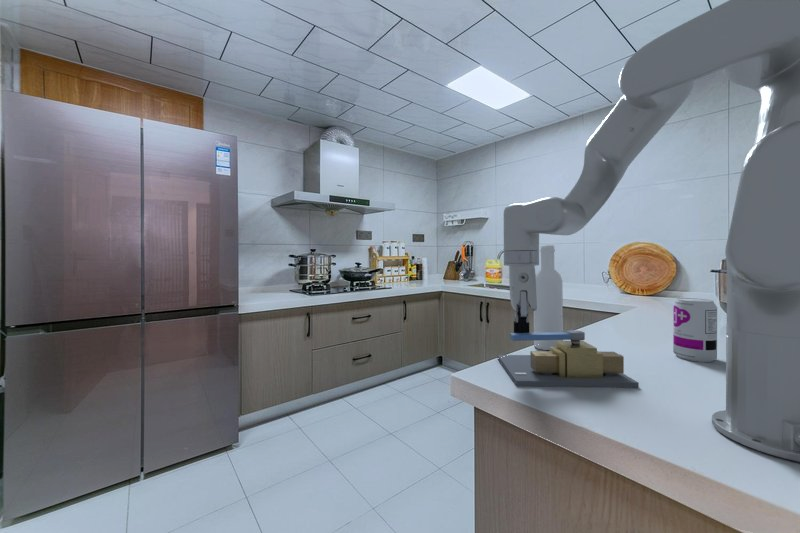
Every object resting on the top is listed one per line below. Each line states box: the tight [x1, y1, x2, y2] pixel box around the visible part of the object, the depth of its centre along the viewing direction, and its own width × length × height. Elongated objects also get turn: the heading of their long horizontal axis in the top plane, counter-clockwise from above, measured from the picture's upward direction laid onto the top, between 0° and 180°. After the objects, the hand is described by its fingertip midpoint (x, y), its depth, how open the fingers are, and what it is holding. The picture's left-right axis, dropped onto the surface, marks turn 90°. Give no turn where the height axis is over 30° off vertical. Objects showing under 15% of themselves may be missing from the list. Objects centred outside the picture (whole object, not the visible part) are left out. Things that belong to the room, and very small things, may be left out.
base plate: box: [496, 354, 640, 389], centre depth 74 cm, size 18×24×1 cm
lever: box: [509, 329, 586, 342], centre depth 70 cm, size 16×4×1 cm, turn 90°
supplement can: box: [672, 297, 718, 363], centre depth 82 cm, size 8×8×15 cm
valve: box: [529, 340, 625, 378], centre depth 70 cm, size 6×18×8 cm, turn 85°
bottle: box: [533, 244, 564, 351], centre depth 93 cm, size 8×8×30 cm
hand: (521, 339), depth 73 cm, fingers closed
